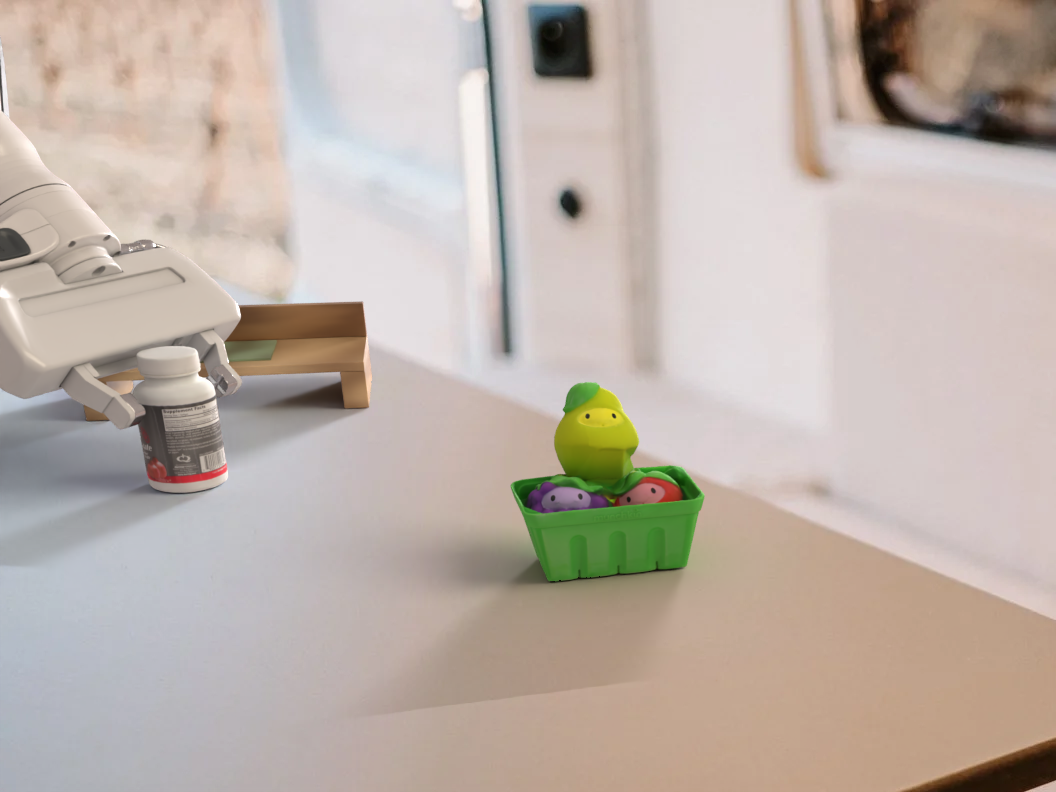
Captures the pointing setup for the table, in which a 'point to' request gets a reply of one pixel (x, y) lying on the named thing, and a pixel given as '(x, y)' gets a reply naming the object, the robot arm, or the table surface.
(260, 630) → the table surface
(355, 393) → the bench
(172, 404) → the pill bottle
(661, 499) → the fruit basket
